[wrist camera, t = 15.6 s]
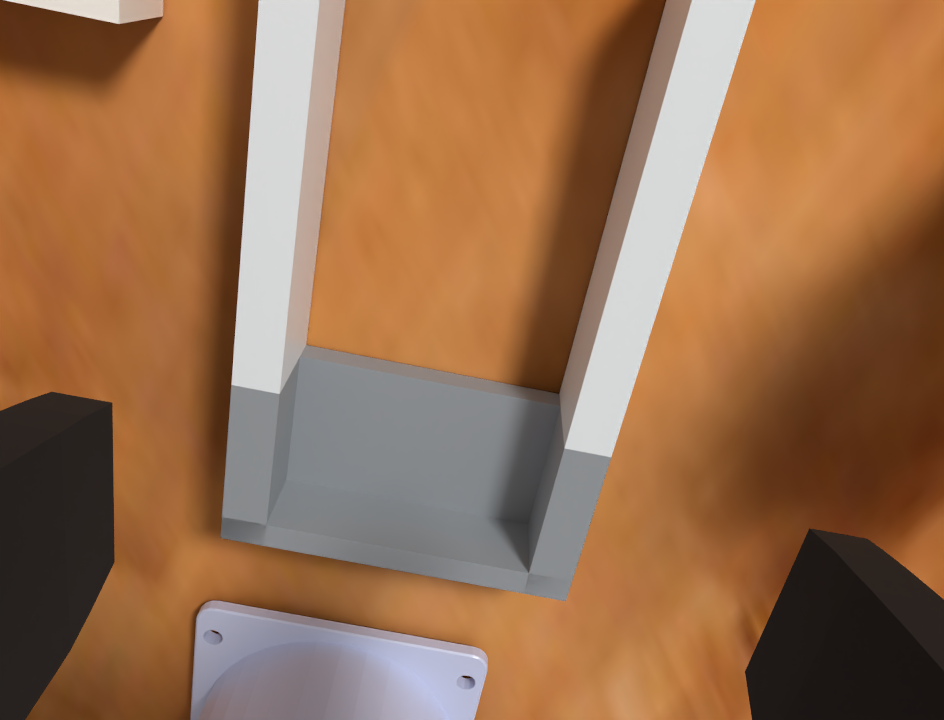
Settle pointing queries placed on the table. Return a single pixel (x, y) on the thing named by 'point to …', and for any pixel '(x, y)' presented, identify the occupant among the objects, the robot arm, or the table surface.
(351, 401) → the grey u-shaped piece
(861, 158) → the table surface
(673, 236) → the channel
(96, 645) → the table surface
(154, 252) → the table surface
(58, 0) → the tray
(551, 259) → the table surface
